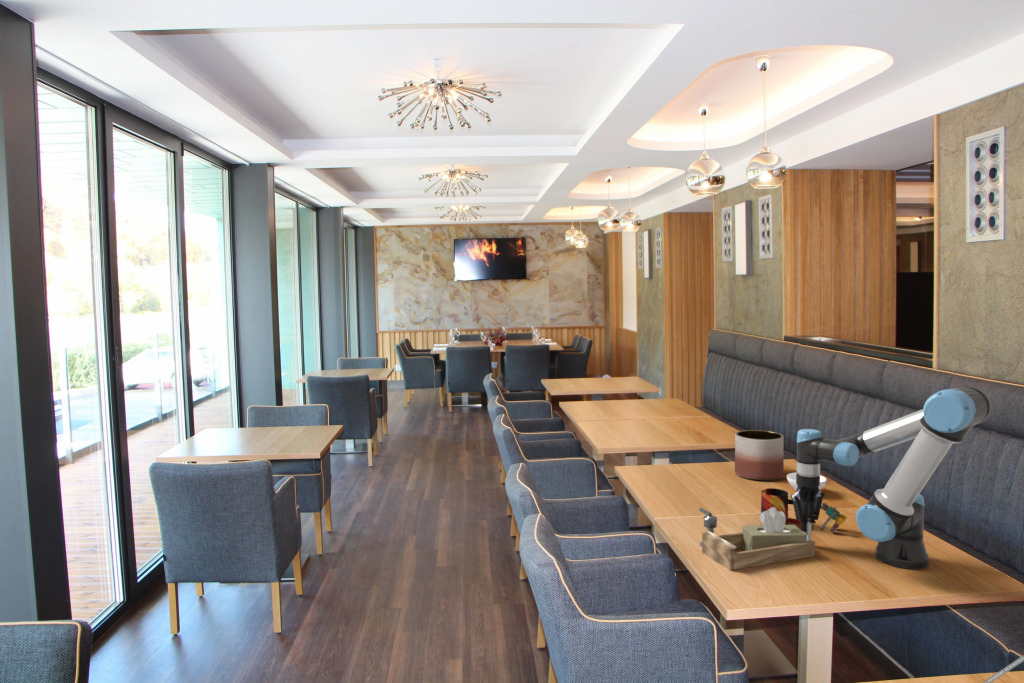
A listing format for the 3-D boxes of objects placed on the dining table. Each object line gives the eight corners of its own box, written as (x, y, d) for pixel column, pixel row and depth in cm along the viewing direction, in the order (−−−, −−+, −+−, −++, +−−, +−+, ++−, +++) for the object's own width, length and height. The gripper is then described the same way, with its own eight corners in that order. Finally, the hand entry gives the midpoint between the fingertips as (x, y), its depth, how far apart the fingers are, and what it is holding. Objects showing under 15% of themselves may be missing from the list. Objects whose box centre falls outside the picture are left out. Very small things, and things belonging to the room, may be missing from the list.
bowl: (831, 499, 276) (831, 483, 276) (791, 498, 279) (792, 482, 278) (819, 488, 292) (820, 472, 292) (782, 487, 295) (782, 471, 294)
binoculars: (828, 540, 237) (845, 520, 233) (806, 522, 241) (822, 503, 237) (834, 532, 244) (850, 513, 241) (812, 515, 249) (828, 496, 245)
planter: (770, 468, 325) (770, 429, 324) (792, 481, 303) (792, 438, 302) (727, 470, 324) (727, 430, 323) (746, 482, 302) (746, 440, 301)
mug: (802, 527, 244) (803, 496, 243) (764, 526, 246) (764, 495, 245) (795, 518, 254) (795, 488, 253) (758, 517, 256) (758, 488, 255)
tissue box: (795, 547, 227) (796, 502, 226) (807, 558, 217) (808, 512, 216) (741, 547, 228) (741, 503, 226) (751, 558, 218) (751, 512, 217)
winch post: (720, 548, 226) (720, 514, 225) (708, 550, 224) (708, 516, 223) (706, 539, 234) (706, 507, 233) (694, 541, 232) (694, 508, 232)
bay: (814, 555, 218) (815, 533, 218) (730, 570, 208) (730, 547, 208) (782, 539, 233) (782, 518, 232) (702, 552, 223) (702, 530, 222)
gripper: (815, 469, 230) (813, 534, 232) (784, 473, 227) (783, 538, 228) (831, 475, 223) (829, 541, 225) (800, 478, 219) (799, 546, 221)
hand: (806, 540), depth 227 cm, fingers closed
